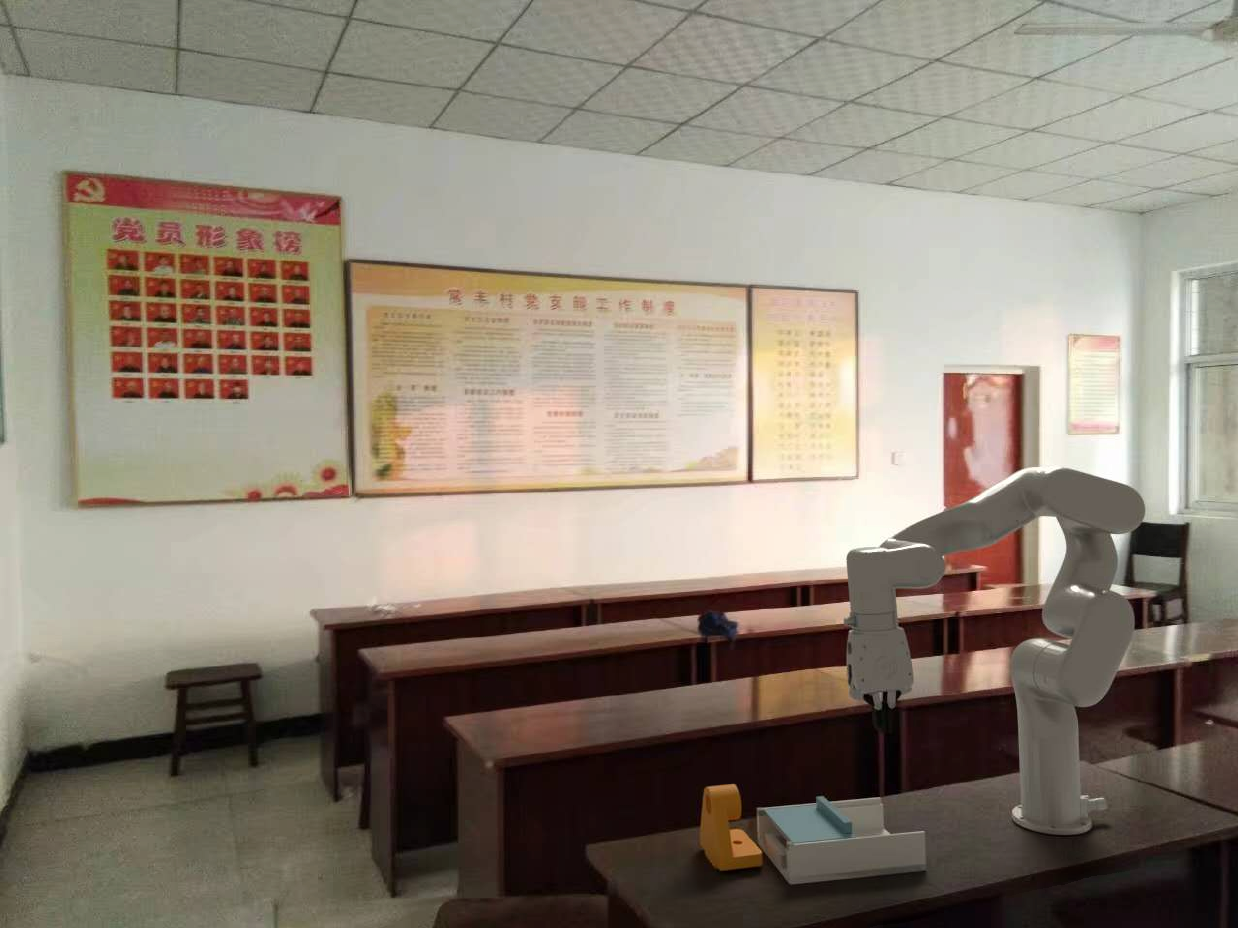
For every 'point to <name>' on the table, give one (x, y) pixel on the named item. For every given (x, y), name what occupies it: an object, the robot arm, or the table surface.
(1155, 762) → the table surface
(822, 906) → the table surface
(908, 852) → the housing
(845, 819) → the lid
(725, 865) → the bracket
